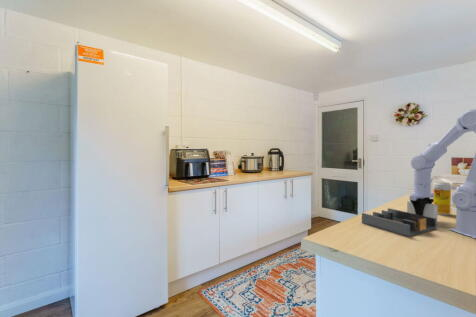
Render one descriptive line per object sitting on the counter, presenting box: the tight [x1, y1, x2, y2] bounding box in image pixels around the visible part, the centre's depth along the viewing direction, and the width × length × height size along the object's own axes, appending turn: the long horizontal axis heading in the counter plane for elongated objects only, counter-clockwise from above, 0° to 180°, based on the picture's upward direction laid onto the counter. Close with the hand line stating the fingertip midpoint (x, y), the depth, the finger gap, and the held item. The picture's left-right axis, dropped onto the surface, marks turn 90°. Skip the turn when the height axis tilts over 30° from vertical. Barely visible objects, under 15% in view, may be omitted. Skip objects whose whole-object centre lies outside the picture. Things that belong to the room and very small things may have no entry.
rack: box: [361, 207, 438, 238], centre depth 94 cm, size 18×18×5 cm
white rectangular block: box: [406, 200, 438, 223], centre depth 101 cm, size 10×3×7 cm, turn 25°
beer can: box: [432, 181, 452, 216], centre depth 110 cm, size 6×6×15 cm
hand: (421, 215), depth 101 cm, fingers closed on white rectangular block, 3 cm apart
